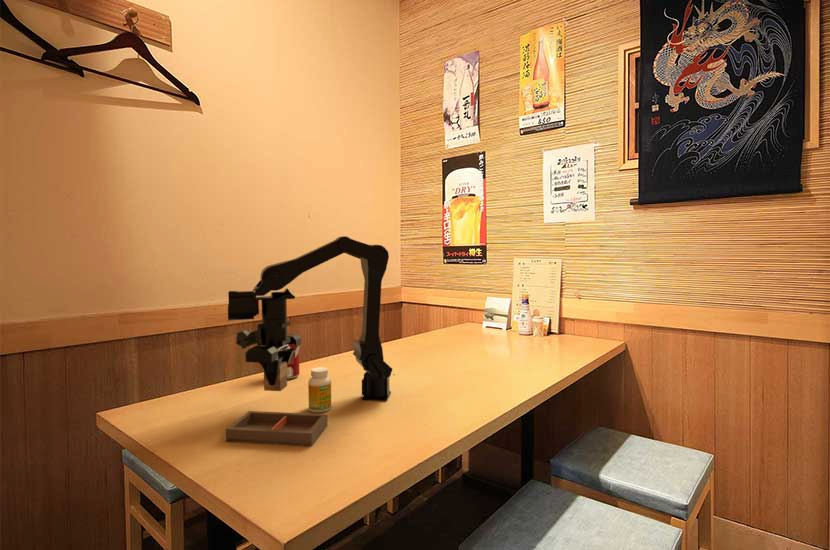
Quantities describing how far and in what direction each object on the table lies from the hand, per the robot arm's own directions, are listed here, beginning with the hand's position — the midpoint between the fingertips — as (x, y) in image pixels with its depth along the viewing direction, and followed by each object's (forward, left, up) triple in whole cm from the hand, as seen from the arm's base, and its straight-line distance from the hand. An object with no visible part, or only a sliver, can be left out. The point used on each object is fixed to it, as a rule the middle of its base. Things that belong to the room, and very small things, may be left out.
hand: (275, 382), depth 108 cm
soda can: (+8, -26, -7) cm, 28 cm away
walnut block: (0, 0, -1) cm, 1 cm away
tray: (-6, +13, -7) cm, 16 cm away
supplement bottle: (-10, -2, -7) cm, 13 cm away
